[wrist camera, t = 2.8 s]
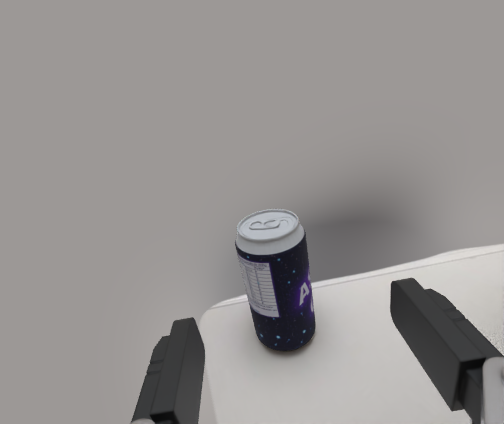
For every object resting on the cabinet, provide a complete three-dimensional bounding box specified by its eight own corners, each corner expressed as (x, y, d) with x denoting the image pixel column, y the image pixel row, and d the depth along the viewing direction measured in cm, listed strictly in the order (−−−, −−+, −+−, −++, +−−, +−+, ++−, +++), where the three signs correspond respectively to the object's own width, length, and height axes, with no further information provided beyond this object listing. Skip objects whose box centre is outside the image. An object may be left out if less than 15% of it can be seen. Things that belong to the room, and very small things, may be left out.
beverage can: (316, 359, 24) (302, 240, 19) (252, 356, 26) (223, 243, 21) (316, 309, 29) (305, 204, 24) (262, 309, 31) (240, 209, 25)
